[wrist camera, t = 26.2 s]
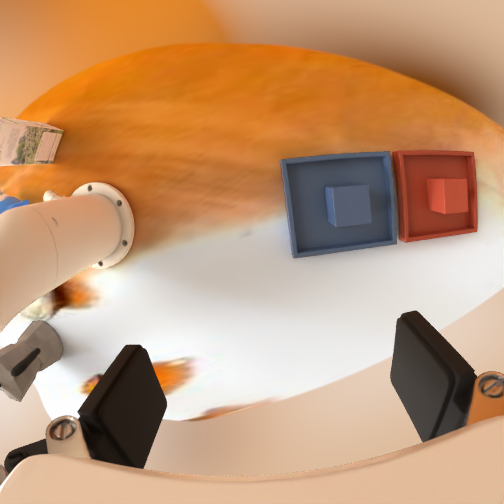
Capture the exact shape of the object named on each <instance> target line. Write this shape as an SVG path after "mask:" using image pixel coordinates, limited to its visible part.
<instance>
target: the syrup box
mask: <svg viewBox="0 0 504 504" xmlns="http://www.w3.org/2000/svg"><path fill="white" fill-rule="evenodd" d="M63 132H64V130H61V129H59V128H56V127H54V126H51V125H49V124H46V123H43V122H33V121H26V120H19V119H11V118H4V117H0V166H8V165H27V164H53V162H54V159H55V155H56V152H57V149H58V146H59V143H60V141H61V138H62V135H63Z"/></svg>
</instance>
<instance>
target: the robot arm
mask: <svg viewBox="0 0 504 504" xmlns="http://www.w3.org/2000/svg"><path fill="white" fill-rule="evenodd" d="M43 200H44V202H40V203H34V204H30V205H25V206H20V207H15V208H12V209H9V210H6V211H5V212H3V213H1V214H0V333H1V331H2V330H3V329H4V328H5V327H6V325H7V324H8V323H9V322H10V321H11V320H12V319H13V318H14V317H15V316H16V315H17V314H18V313H20V312H21V311H22V310H23V309H25V308H26V307H27V306H29V305H30V304H31V303H33V302H34V301H36V300H37V299H39V298H40V297H42V296H43V295H45V294H47V293H48V292H50V291H51V290H53V289H55V288H56V287H58V286H59V285H61V284H63V283H64V282H66V281H67V280H69V279H71V278H72V277H74V276H76V275H77V274H79V273H81V272H82V271H84V270H86V269H87V268H89V267H93V268H102V269H104V268H108V267H111V266H113V265H115V264H117V263H118V262H120V261H121V260H122V259H123V258H124V257H125V256H126V255H127V253H128V251H129V250H130V248H131V245H132V243H133V238H134V228H135V225H134V217H133V214H132V210H131V207H130V205H129V203H128V201H127V200H126V198H125V197H124V196H123V194H122V193H121V192H120V191H119V190H118V189H116V188H115V187H113V186H112V185H109V184H107V183H102V182H92V183H88V184H85V185H83V186H81V187H79V188H78V189H77V190H76V191H75V192H74V193H73V194H72V195H71V197H66V196H62V197H60V196H58V194H56V193H54V192H53V191H51V190H48V191H46V192H45V194H44V197H43ZM121 201H122V204H121ZM126 241H127V243H126ZM474 371H475V370H474V369H473V368H472V367H471V366H470V365H469V364H468V363H467V362H466V360H465V359H464V358H463V357H462V356H461V355H460V354H459V353H458V352H457V351H456V350H455V349H454V348H453V347H452V346H451V344H450V343H449V342H447V340H446V339H445V338H444V337H443V336H442V335H441V334H440V333H439V332H438V331H437V330H436V329H435V328H434V327H433V326H432V325H431V324H430V323H429V322H428V321H427V320H426V319H425V318H424V317H423V316H422V315H421V314H420V313H419V312H418V311H411V312H406V313H403V314H402V315H401V317H400V318H398V319H397V324H396V334H395V344H394V352H393V360H392V367H391V374H390V378H391V382H392V385H393V386H394V388H395V390H396V392H397V394H398V396H399V397H400V399H401V401H402V403H403V405H404V407H405V409H406V411H407V413H408V414H409V416H410V418H411V420H412V422H413V424H414V426H415V428H416V430H417V432H418V434H419V436H420V438H421V440H422V442H423V443H420V444H417V445H414V446H412V447H408V448H405V449H402V450H399V451H396V452H392V453H389V454H385V455H382V456H378V457H375V458H371V459H367V460H363V461H358V462H354V463H350V464H344V465H340V466H334V467H329V468H322V469H316V470H310V471H302V472H293V473H284V474H271V475H255V476H254V475H253V476H209V475H207V476H206V475H191V474H179V473H169V472H160V471H153V470H146V469H143V468H144V466H145V463H146V461H147V458H148V455H149V452H150V450H151V447H152V444H153V442H154V439H155V436H156V434H157V431H158V429H159V426H160V423H161V421H162V418H163V416H164V413H165V410H166V408H167V400H166V398H165V395H164V393H163V391H162V388H161V386H160V383H159V381H158V379H157V376H156V374H155V371H154V368H153V366H152V363H151V361H150V358H149V355H148V352H147V350H146V349H145V348H143V347H142V346H141V345H126V346H124V348H123V349H122V350H121V352H120V353H119V354H118V356H117V357H116V359H115V360H114V361H113V363H112V364H111V365H110V367H109V368H108V369H107V371H106V372H105V374H104V375H103V376H102V378H101V379H100V380H99V382H98V383H97V385H96V386H95V387H94V389H93V390H92V392H91V393H90V394H89V396H88V397H87V399H86V400H85V402H84V403H83V404H82V406H81V407H80V409H79V410H78V413H79V415H80V417H79V419H77V418H75V417H73V416H61V417H58V418H56V419H54V420H53V421H52V422H51V423H50V424H49V425H48V427H47V429H46V439H43V440H40V441H37V442H35V443H32V444H29V445H26V446H23V447H20V448H17V449H15V450H12V451H11V452H9V454H8V455H7V457H6V459H5V462H4V466H5V467H3V466H2V465H0V504H504V374H502V373H500V372H495V371H489V372H485V373H482V374H481V375H479V376H478V377H477V376H476V375H475V373H474Z"/></svg>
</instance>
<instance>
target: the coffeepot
mask: <svg viewBox="0 0 504 504" xmlns="http://www.w3.org/2000/svg"><path fill="white" fill-rule="evenodd" d="M62 352H63V347H62V343H61V340H60V338H59V336H58V335H57V333H56V332H55V331H54V329H53V328H52V327H51V326H50V325H48V324H47V323H45V322H44V321H40V320H39V321H33V322H32V323H31V324H30V325H29V326H28V328H27V329H26V330H25V331H24V332H23V334H22V335H21V336H20V337H19V339H18V341H17V343H16V344H10V345H8V346H6V347H4V348H2V349H1V350H0V390H2V391H3V392H4V393H5V394H6V395H8V397H9V398H11V399H14V400H16V401H20V402H21V400H22V399H23V397H24V395H25V394H26V392H27V390H28V389H29V387H30V386H31V384H32V383H33V381H34V379H35V377H36V374H37V372H38V371H42V370H44V369H45V368H47V367H48V366H50V365H52V364H53V363H55V362H56V361H58V360H59V359H60V357H61V355H62Z"/></svg>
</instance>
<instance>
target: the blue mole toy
mask: <svg viewBox="0 0 504 504" xmlns="http://www.w3.org/2000/svg"><path fill="white" fill-rule="evenodd" d="M28 204H29V201H28V200H23V201H20V200H19V199H17V198H15V197H10V196H8V195H7V194H5V193H4V192H3V191H2V190H1V189H0V214H1V213H3V212H5V211H6V210H9V209H12V208H15V207H20V206H25V205H28Z"/></svg>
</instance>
